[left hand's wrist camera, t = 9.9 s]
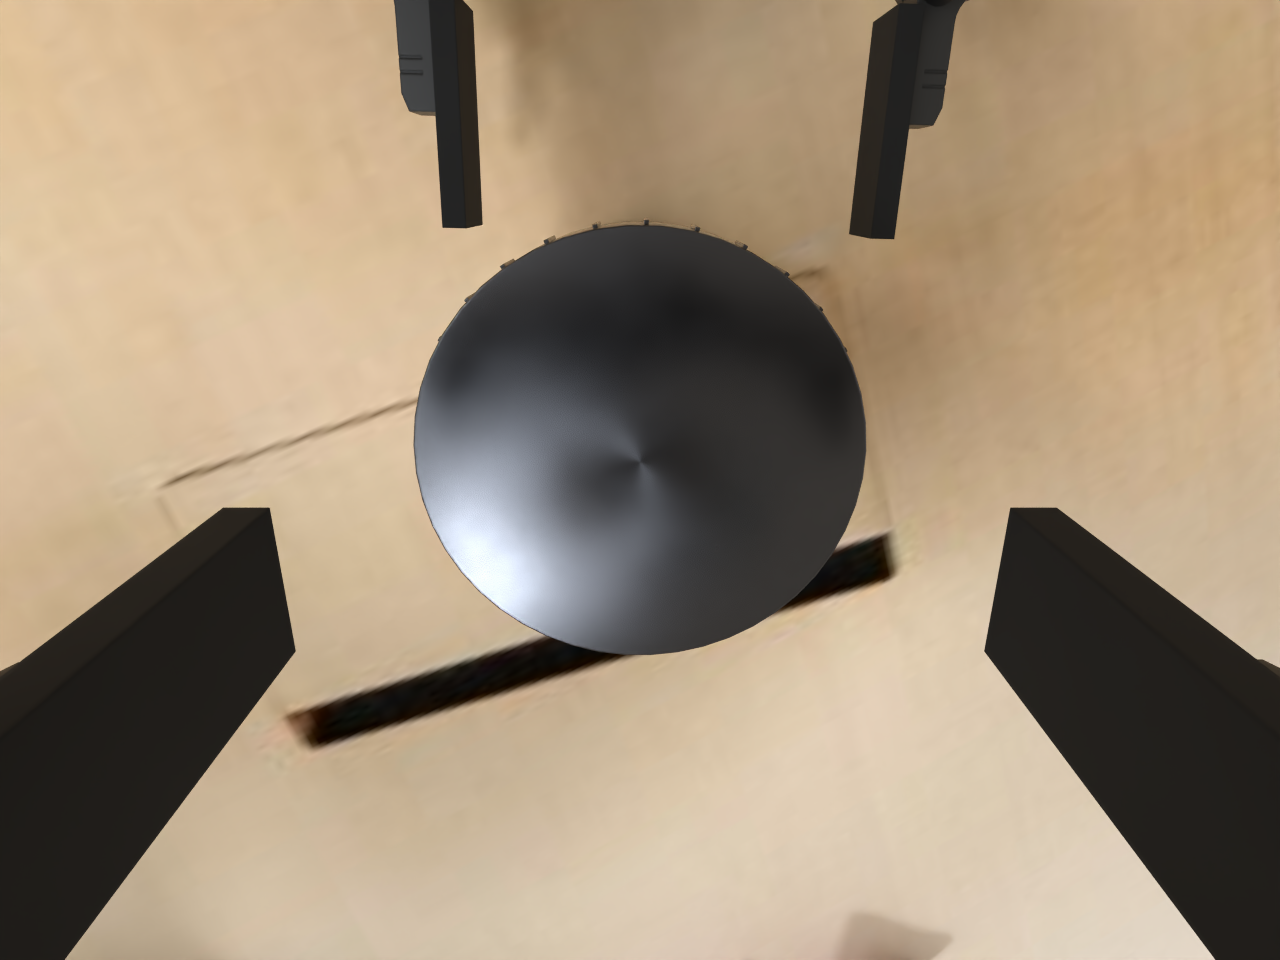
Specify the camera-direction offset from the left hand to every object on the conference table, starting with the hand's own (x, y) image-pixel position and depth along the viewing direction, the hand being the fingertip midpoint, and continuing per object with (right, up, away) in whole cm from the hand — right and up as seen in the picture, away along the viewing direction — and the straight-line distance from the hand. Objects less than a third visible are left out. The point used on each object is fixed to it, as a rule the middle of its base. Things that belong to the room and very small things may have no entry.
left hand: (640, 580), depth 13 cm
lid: (0, +2, +6) cm, 6 cm away
